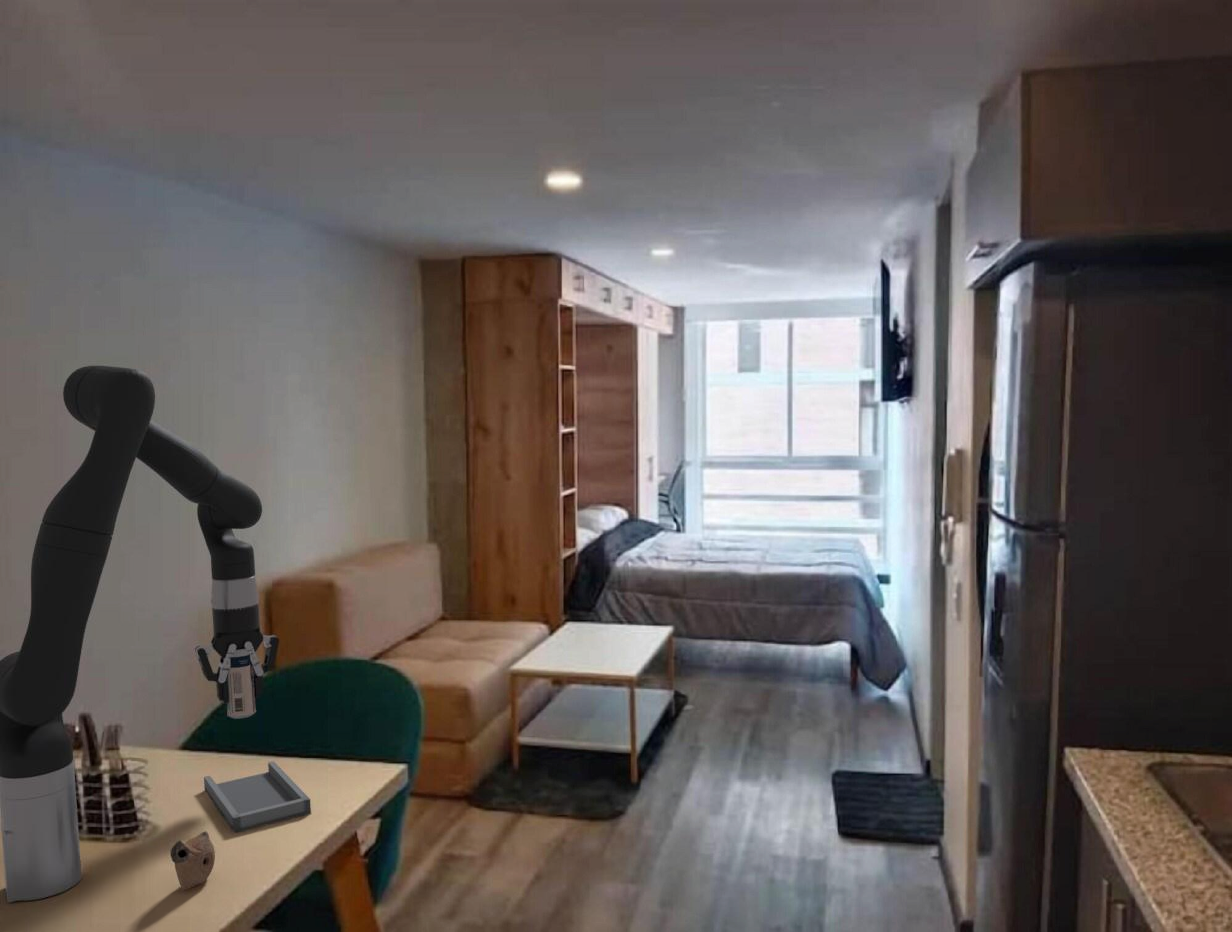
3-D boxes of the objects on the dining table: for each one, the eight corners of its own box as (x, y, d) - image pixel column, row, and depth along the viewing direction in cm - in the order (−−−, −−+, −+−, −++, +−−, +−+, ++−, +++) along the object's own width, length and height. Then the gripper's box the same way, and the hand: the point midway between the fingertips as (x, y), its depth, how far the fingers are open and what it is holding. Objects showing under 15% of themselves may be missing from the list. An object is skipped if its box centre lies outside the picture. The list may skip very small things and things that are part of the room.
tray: (234, 833, 155) (233, 818, 155) (204, 790, 173) (203, 776, 173) (310, 813, 162) (310, 799, 161) (274, 773, 180) (273, 761, 180)
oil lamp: (188, 904, 133) (185, 846, 132) (160, 903, 133) (157, 846, 133) (223, 872, 142) (219, 818, 141) (196, 872, 142) (193, 818, 142)
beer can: (262, 713, 172) (258, 646, 172) (238, 721, 168) (234, 652, 168) (244, 709, 175) (240, 643, 174) (221, 717, 171) (217, 649, 170)
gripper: (195, 612, 163) (201, 713, 164) (283, 600, 171) (288, 696, 172) (186, 605, 170) (192, 702, 171) (271, 594, 178) (277, 687, 179)
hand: (240, 699), depth 171 cm, fingers closed on beer can, 4 cm apart
